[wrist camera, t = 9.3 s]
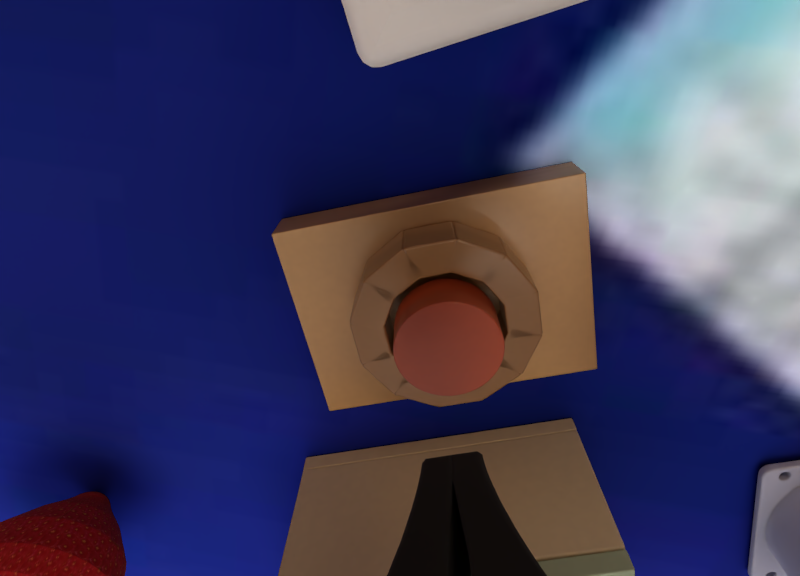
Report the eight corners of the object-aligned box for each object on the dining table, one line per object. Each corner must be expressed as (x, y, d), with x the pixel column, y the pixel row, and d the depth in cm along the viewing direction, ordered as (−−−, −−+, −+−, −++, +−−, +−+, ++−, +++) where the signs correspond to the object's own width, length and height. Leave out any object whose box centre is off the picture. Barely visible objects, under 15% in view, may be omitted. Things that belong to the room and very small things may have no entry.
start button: (489, 269, 18) (497, 292, 16) (503, 358, 19) (511, 387, 18) (384, 288, 18) (382, 312, 17) (405, 374, 20) (405, 404, 18)
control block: (572, 161, 19) (603, 186, 16) (585, 346, 23) (613, 397, 20) (281, 218, 21) (258, 253, 17) (334, 386, 24) (323, 441, 21)
